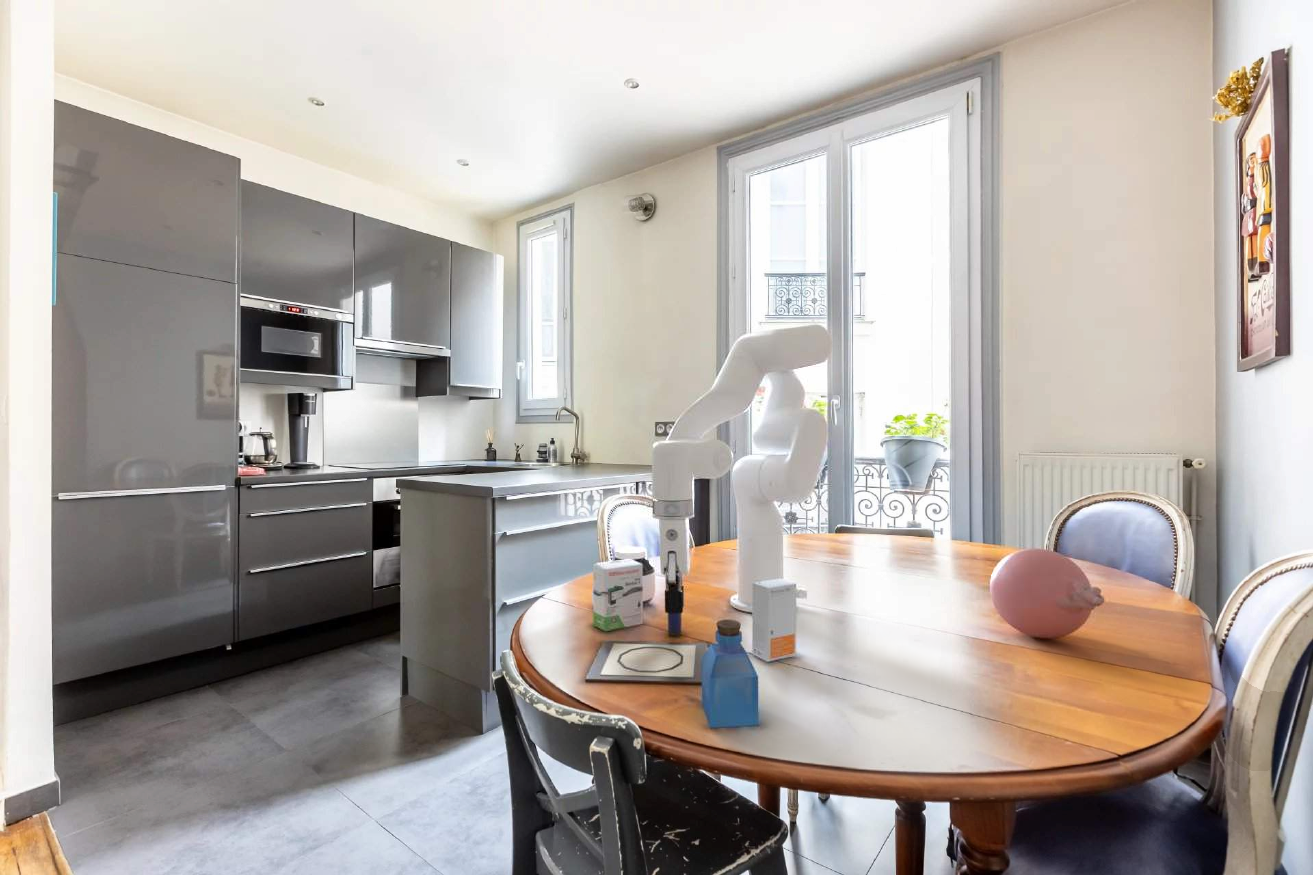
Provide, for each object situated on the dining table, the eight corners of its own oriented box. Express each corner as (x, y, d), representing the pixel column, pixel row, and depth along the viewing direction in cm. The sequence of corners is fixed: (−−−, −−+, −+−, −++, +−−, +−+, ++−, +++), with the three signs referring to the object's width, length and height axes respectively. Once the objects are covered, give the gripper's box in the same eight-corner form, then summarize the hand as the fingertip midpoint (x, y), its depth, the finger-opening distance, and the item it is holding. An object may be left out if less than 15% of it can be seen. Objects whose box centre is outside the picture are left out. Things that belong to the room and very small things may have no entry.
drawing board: (707, 645, 104) (707, 641, 104) (706, 684, 88) (706, 680, 88) (604, 642, 106) (604, 639, 106) (585, 681, 90) (585, 677, 90)
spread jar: (660, 603, 129) (660, 548, 129) (630, 617, 120) (629, 558, 119) (615, 595, 136) (614, 543, 135) (583, 608, 126) (582, 552, 126)
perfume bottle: (702, 705, 82) (701, 616, 82) (747, 702, 82) (746, 615, 82) (709, 727, 76) (709, 632, 75) (758, 725, 76) (757, 630, 76)
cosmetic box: (767, 663, 96) (767, 588, 96) (751, 654, 100) (751, 582, 99) (797, 656, 99) (797, 583, 98) (780, 648, 102) (780, 577, 102)
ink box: (604, 632, 111) (604, 568, 111) (592, 625, 115) (591, 563, 115) (644, 623, 116) (643, 562, 116) (631, 616, 120) (630, 557, 120)
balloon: (1051, 665, 94) (1052, 566, 94) (971, 623, 114) (971, 542, 114) (1141, 660, 96) (1142, 563, 95) (1047, 620, 115) (1047, 539, 115)
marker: (681, 632, 111) (681, 577, 111) (681, 636, 108) (680, 581, 108) (668, 631, 111) (668, 577, 111) (667, 636, 109) (667, 581, 108)
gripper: (692, 515, 101) (694, 625, 101) (695, 503, 117) (696, 597, 117) (647, 515, 102) (649, 624, 102) (656, 503, 118) (657, 597, 118)
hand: (674, 609), depth 110 cm, fingers closed on marker, 2 cm apart
